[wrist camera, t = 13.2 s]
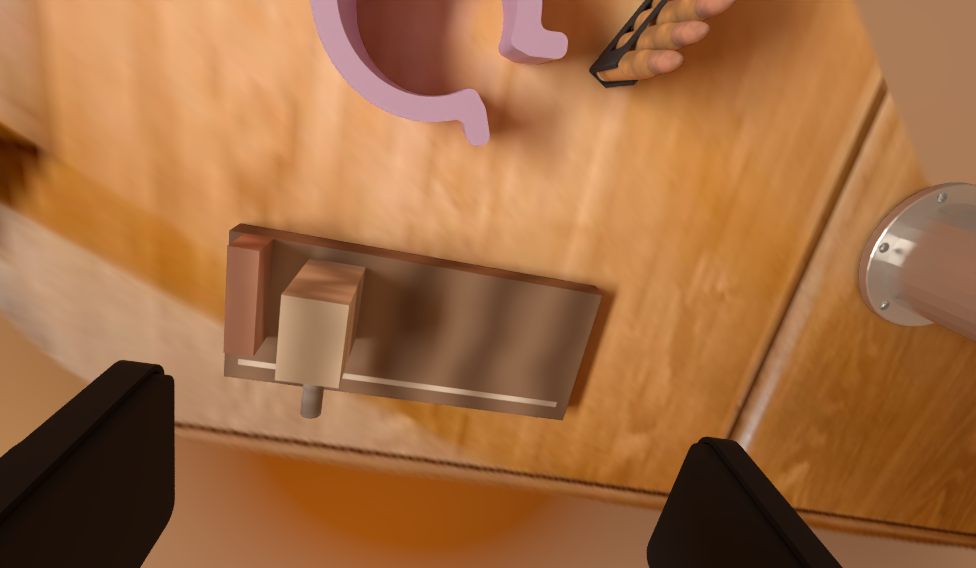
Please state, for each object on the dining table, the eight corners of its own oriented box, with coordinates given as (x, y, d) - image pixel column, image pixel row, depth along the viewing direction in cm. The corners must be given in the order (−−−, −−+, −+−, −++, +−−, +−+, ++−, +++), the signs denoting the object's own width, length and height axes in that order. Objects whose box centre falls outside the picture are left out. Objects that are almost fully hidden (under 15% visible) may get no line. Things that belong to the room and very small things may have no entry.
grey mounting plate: (595, 286, 41) (614, 311, 37) (557, 406, 45) (570, 443, 41) (240, 223, 37) (211, 242, 32) (233, 363, 41) (207, 398, 36)
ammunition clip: (606, 88, 36) (680, 88, 25) (587, 70, 35) (655, 62, 24) (716, -44, 33) (853, -110, 22) (698, -66, 33) (829, -145, 22)
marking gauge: (365, 267, 37) (349, 305, 30) (349, 382, 40) (332, 438, 34) (309, 258, 36) (281, 294, 30) (298, 375, 40) (270, 431, 33)
